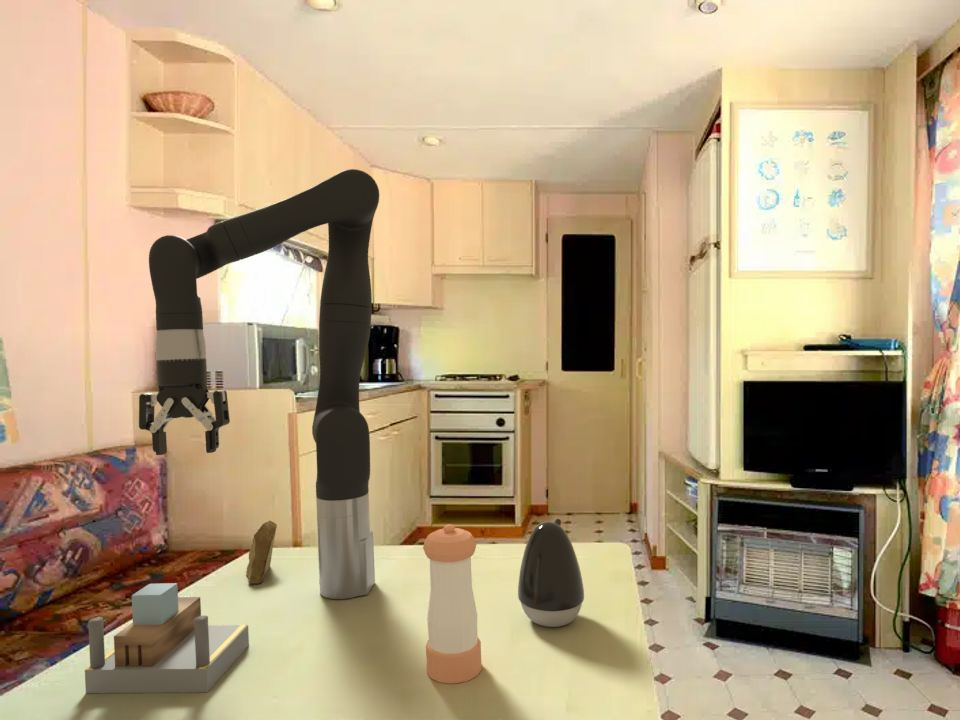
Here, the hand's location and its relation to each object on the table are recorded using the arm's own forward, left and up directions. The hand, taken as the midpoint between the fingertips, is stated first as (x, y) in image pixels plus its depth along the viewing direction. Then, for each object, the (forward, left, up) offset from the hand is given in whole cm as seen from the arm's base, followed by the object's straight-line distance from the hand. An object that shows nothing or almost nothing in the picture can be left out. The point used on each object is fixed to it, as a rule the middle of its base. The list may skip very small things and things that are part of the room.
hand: (186, 453), depth 99 cm
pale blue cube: (-5, +19, -20) cm, 27 cm away
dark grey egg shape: (-60, +5, -27) cm, 66 cm away
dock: (-7, +18, -27) cm, 33 cm away
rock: (-4, -16, -27) cm, 31 cm away
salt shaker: (-46, +19, -27) cm, 57 cm away
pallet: (-5, +18, -24) cm, 30 cm away
